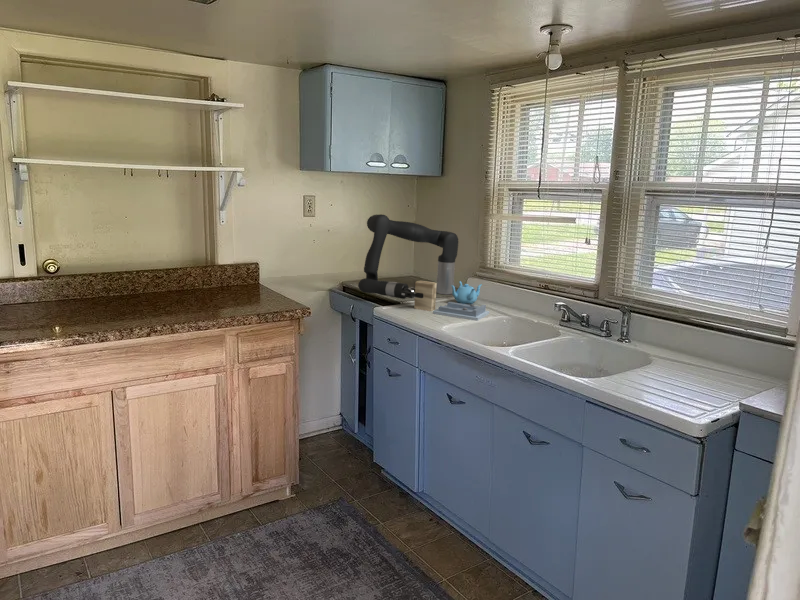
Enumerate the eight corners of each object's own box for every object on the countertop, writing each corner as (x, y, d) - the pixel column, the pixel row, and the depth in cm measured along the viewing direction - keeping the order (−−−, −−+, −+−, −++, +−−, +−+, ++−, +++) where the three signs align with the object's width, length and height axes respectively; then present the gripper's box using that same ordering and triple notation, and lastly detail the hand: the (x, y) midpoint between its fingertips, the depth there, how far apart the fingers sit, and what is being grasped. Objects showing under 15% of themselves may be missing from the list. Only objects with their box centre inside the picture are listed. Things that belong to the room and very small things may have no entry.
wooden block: (418, 306, 286) (419, 280, 284) (435, 309, 282) (436, 282, 280) (414, 308, 282) (415, 281, 280) (431, 311, 278) (432, 284, 276)
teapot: (458, 299, 306) (459, 280, 304) (482, 303, 300) (484, 283, 298) (448, 304, 295) (449, 284, 293) (473, 307, 289) (474, 287, 287)
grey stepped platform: (446, 307, 288) (446, 298, 287) (489, 313, 278) (489, 305, 277) (432, 313, 274) (433, 304, 273) (477, 320, 264) (478, 311, 264)
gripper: (390, 284, 281) (421, 289, 273) (403, 280, 293) (433, 284, 286) (389, 300, 282) (420, 304, 275) (403, 295, 295) (432, 299, 287)
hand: (427, 294), depth 280 cm, fingers open, 8 cm apart
